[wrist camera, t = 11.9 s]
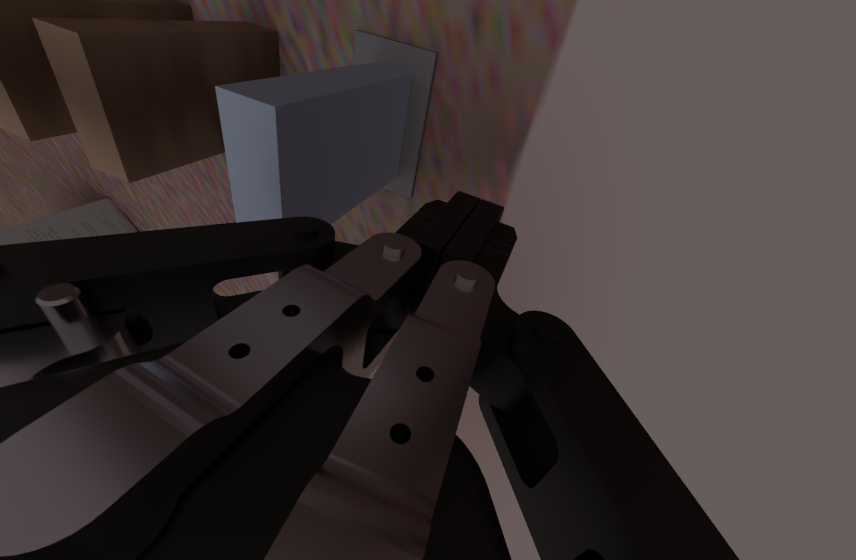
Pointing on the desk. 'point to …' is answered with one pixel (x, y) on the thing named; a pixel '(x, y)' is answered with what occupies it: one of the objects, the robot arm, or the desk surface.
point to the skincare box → (71, 224)
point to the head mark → (420, 88)
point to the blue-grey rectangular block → (312, 140)
